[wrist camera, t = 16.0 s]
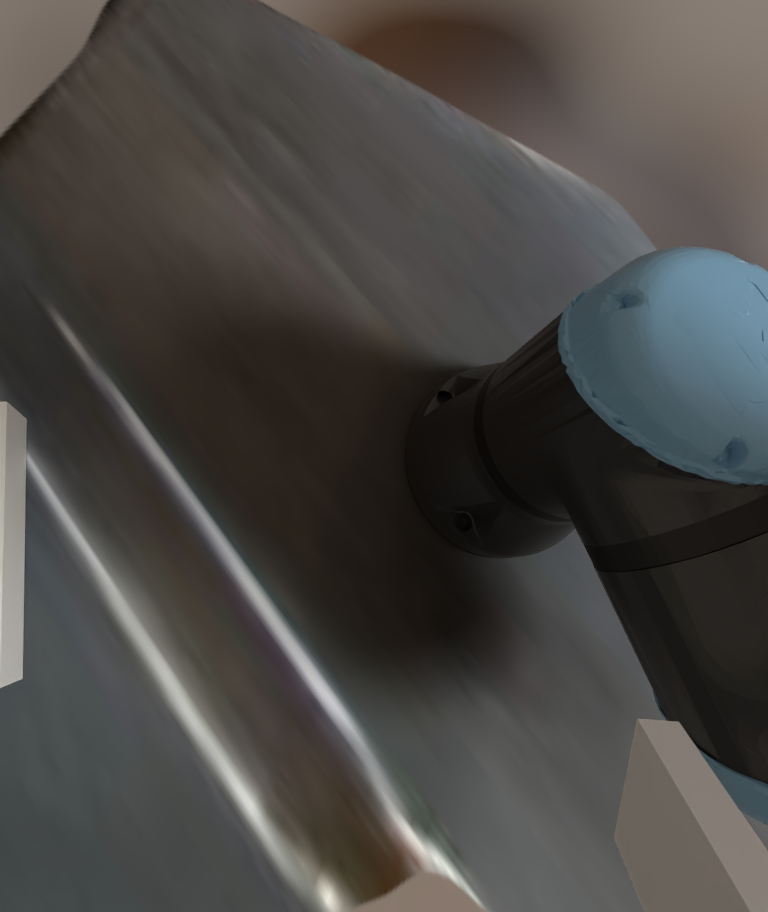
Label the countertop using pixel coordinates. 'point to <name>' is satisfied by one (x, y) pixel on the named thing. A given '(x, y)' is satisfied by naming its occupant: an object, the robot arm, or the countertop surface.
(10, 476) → the scale
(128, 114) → the countertop surface
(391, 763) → the countertop surface
